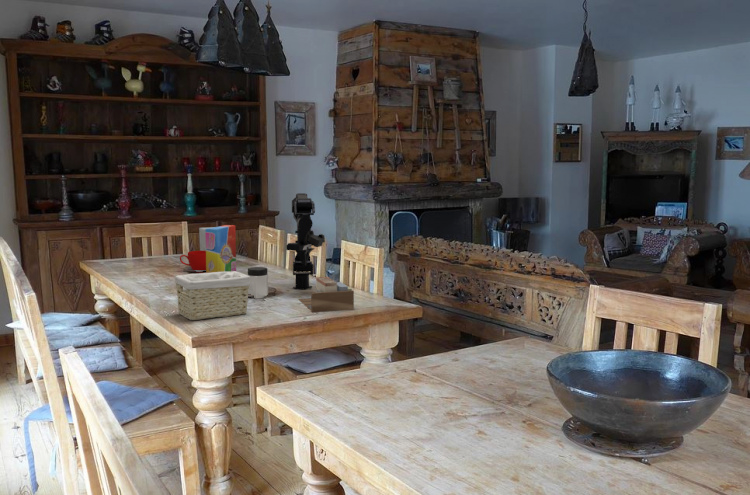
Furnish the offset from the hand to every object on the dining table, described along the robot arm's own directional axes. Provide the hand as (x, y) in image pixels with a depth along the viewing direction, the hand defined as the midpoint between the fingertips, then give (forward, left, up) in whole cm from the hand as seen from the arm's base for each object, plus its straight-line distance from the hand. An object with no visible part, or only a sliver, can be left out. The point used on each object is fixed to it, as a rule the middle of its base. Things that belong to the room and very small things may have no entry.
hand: (304, 265), depth 279 cm
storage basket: (+45, -11, -13) cm, 48 cm away
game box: (0, -44, -13) cm, 46 cm away
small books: (+14, +26, -13) cm, 33 cm away
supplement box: (-71, -108, -13) cm, 130 cm away
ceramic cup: (-27, -82, -13) cm, 87 cm away
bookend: (+23, +19, -12) cm, 32 cm away
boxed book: (+16, +20, -12) cm, 29 cm away
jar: (+11, -16, -13) cm, 23 cm away
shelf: (+15, +19, -13) cm, 27 cm away
